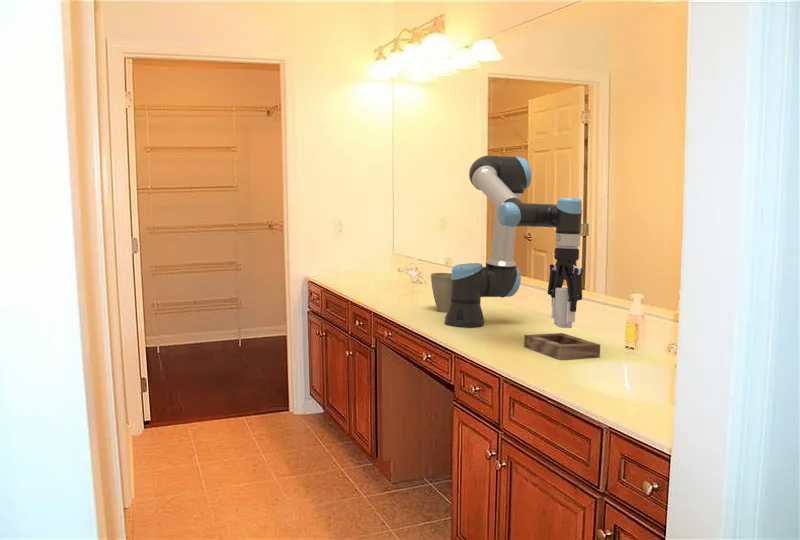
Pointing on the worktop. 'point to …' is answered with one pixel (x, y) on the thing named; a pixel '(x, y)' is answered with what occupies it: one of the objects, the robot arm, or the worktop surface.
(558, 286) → the robot arm
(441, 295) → the plant pot
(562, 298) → the skincare box
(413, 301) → the worktop surface
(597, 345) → the tray
